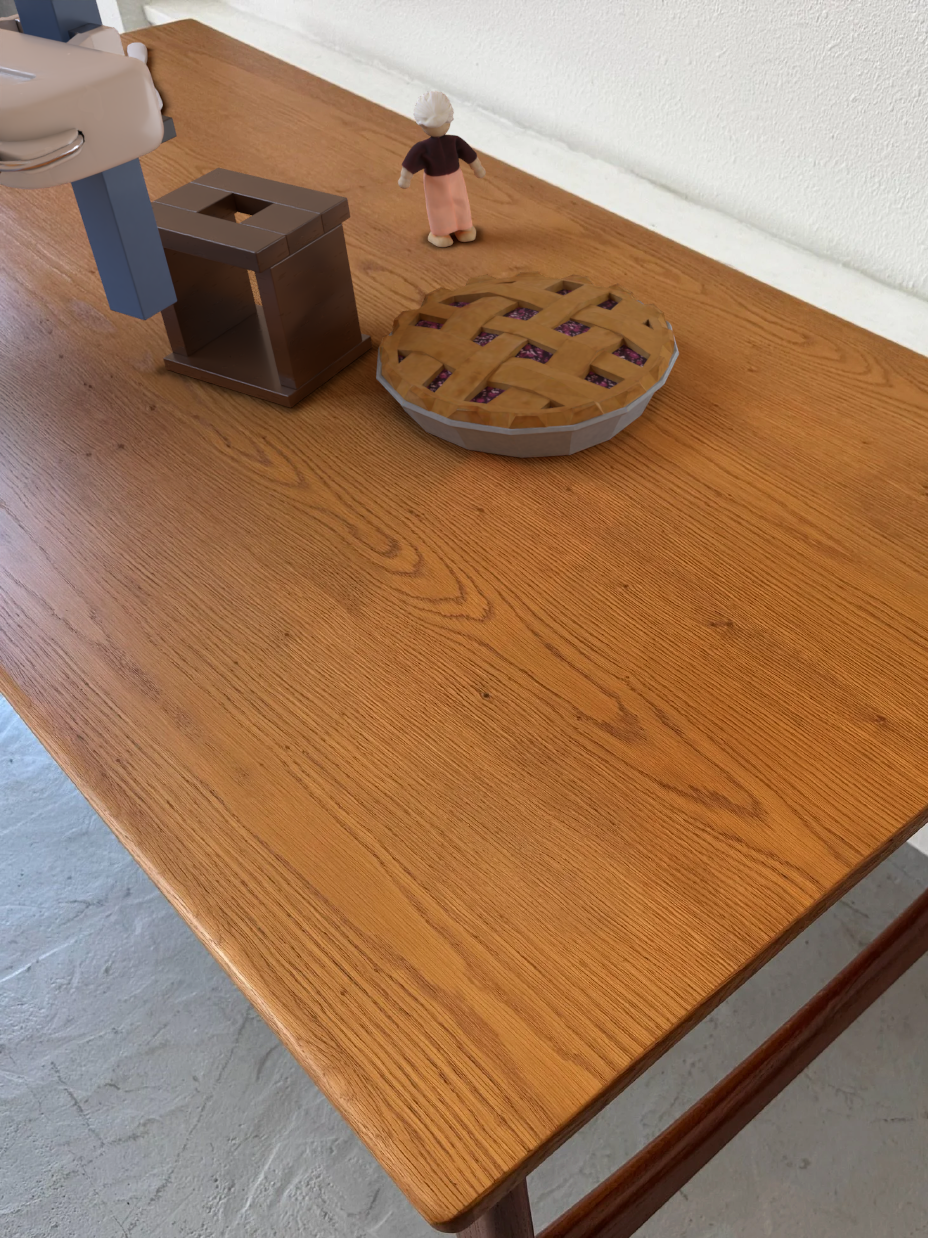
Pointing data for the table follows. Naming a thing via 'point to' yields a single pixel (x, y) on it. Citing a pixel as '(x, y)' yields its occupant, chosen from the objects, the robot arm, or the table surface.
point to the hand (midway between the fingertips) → (80, 35)
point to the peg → (112, 192)
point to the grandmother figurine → (442, 171)
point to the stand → (286, 277)
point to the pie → (527, 363)
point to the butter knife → (141, 53)
